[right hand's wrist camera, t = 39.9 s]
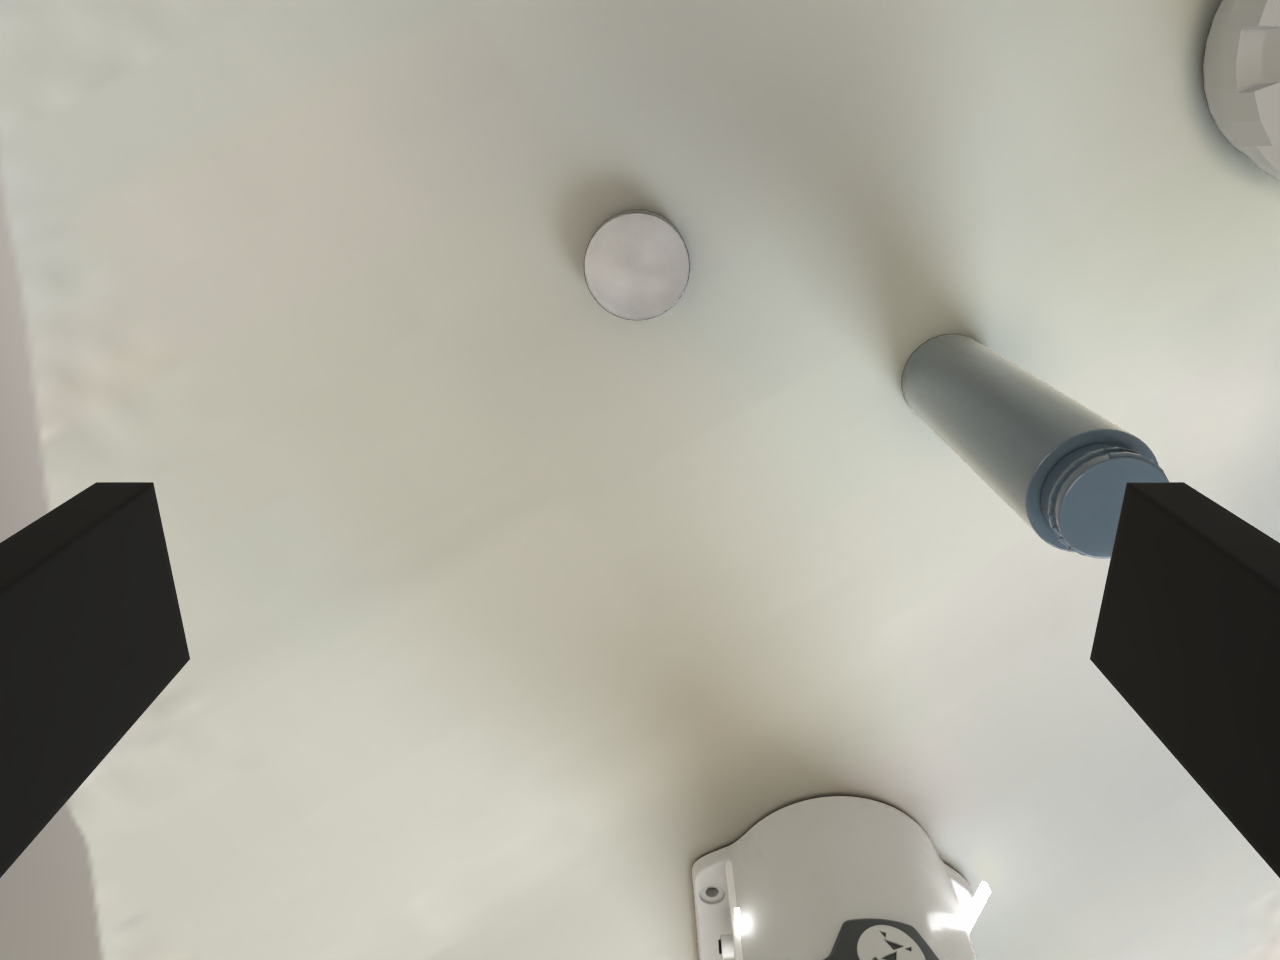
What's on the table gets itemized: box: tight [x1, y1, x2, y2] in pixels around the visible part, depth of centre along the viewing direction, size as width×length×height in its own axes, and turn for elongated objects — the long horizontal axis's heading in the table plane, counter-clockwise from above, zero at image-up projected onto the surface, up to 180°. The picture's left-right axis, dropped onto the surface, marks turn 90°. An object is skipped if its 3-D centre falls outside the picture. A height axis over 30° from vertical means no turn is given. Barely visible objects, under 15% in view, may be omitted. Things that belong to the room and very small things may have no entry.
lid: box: [584, 210, 690, 320], centre depth 45 cm, size 5×5×2 cm
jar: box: [902, 334, 1169, 558], centre depth 39 cm, size 5×5×18 cm
